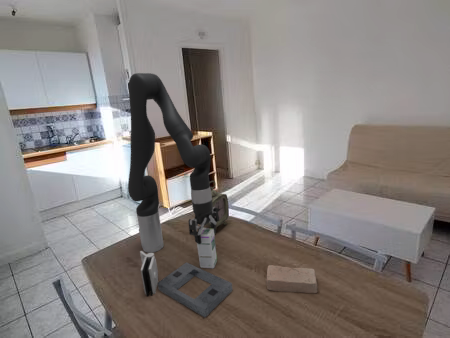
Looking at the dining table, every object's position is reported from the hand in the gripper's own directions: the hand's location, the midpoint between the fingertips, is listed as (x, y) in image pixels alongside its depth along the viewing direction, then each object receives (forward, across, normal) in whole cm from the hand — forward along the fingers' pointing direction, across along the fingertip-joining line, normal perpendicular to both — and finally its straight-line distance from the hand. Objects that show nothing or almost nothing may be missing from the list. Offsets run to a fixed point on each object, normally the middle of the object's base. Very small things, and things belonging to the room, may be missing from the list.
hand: (206, 238), depth 105 cm
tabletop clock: (+12, -24, -17) cm, 32 cm away
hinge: (+12, +20, -11) cm, 26 cm away
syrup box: (+12, 0, 0) cm, 12 cm away
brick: (+13, -7, +32) cm, 35 cm away
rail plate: (+12, +14, +6) cm, 19 cm away
